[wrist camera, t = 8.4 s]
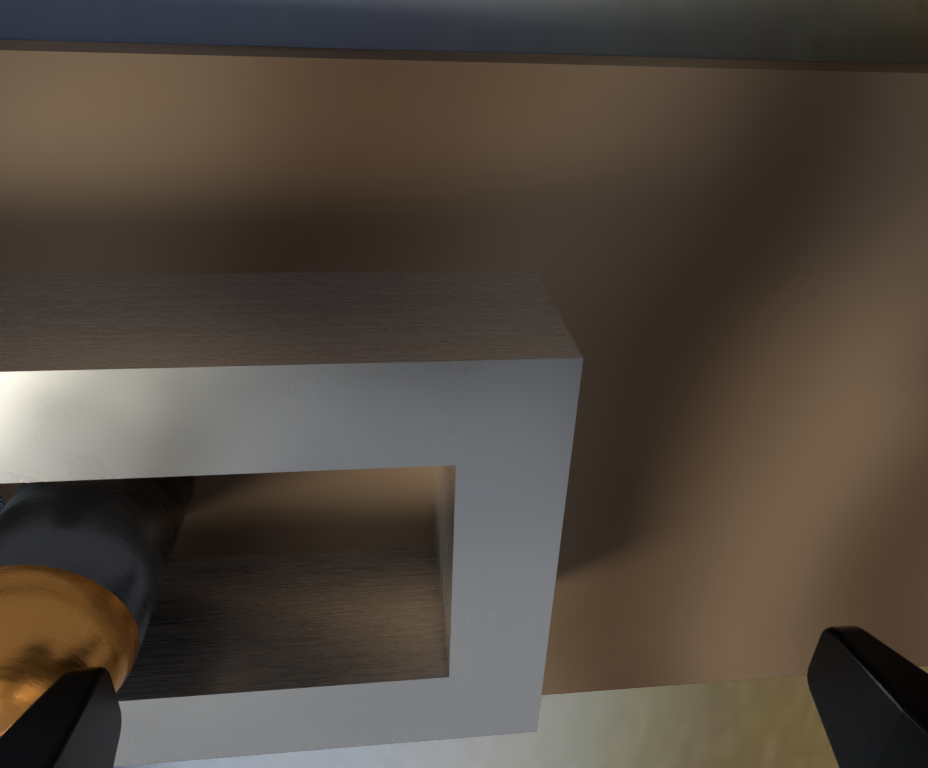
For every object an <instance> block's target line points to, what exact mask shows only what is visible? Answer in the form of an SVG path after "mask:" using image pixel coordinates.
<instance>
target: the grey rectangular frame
mask: <svg viewBox="0 0 928 768" xmlns="http://www.w3.org/2000/svg"><path fill="white" fill-rule="evenodd" d="M582 365H583V356H582V355H581V353H580V351H579V349H578V347H577V346H576V344H575V342H574V340H573V338H572V337H571V335H570V333H569V331H568V329H567V328H566V326H565V324H564V322H563V320H562V319H561V317H560V315H559V313H558V311H557V310H556V308H555V306H554V304H553V302H552V301H551V299H550V297H549V295H548V293H547V292H546V290H545V288H544V286H543V284H542V283H541V281H540V279H539V277H538V276H537V274H536V272H535V270H489V271H389V272H288V273H188V274H87V275H0V484H1V483H26V482H51V481H76V480H101V479H126V478H150V477H175V476H200V475H225V474H250V473H275V472H299V471H324V470H349V469H374V468H399V467H424V466H435V529H434V545H433V546H414V547H395V548H376V549H357V550H338V551H319V552H300V553H281V554H262V555H243V556H224V557H205V558H186V559H170V562H169V565H168V568H167V571H166V574H165V577H164V579H163V582H162V585H161V588H160V591H159V594H158V597H157V600H156V603H155V606H154V609H153V612H152V615H151V618H150V621H149V624H148V627H147V630H146V632H145V635H144V638H143V641H142V644H141V647H140V650H139V653H138V656H137V658H136V660H135V663H134V665H133V667H132V669H131V672H130V673H129V675H128V677H127V678H126V680H125V681H124V683H123V684H122V686H121V687H120V688H119V690H118V691H117V692H116V695H117V699H118V702H119V706H120V709H121V715H122V725H121V733H120V738H119V743H118V747H117V752H116V757H115V761H114V766H113V767H116V766H128V765H140V764H152V763H164V762H176V761H188V760H200V759H212V758H225V757H237V756H249V755H261V754H273V753H285V752H297V751H309V750H321V749H333V748H345V747H357V746H369V745H381V744H393V743H406V742H418V741H430V740H442V739H454V738H466V737H478V736H490V735H502V734H514V733H526V732H537V726H538V718H539V710H540V702H541V694H542V686H543V678H544V670H545V662H546V654H547V646H548V638H549V630H550V622H551V614H552V606H553V598H554V590H555V582H556V574H557V566H558V558H559V549H560V541H561V533H562V525H563V517H564V509H565V501H566V493H567V485H568V477H569V469H570V461H571V453H572V445H573V437H574V429H575V421H576V413H577V405H578V397H579V389H580V381H581V373H582Z"/></svg>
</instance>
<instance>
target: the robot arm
mask: <svg viewBox="0 0 928 768" xmlns="http://www.w3.org/2000/svg"><path fill="white" fill-rule="evenodd" d="M807 679H808V685H809V689H810V692H811V694H812V697H813V700H814V702H815V705H816V708H817V710H818V713H819V715H820V718H821V721H822V723H823V726H824V729H825V731H826V734H827V737H828V739H829V742H830V744H831V747H832V750H833V752H834V755H835V758H836V760H837V763H838V765H839V768H928V673H926V672H925V671H923V670H922V669H920V668H919V667H917V666H916V665H915V664H913V663H912V662H910V661H909V660H907V659H906V658H904V657H903V656H902V655H900V654H899V653H897V652H896V651H894V650H893V649H891V648H890V647H889V646H887V645H886V644H884V643H883V642H881V641H880V640H878V639H877V638H876V637H874V636H873V635H871V634H870V633H868V632H867V631H865V630H864V629H862V628H860V627H857V626H833V627H827V628H826V629H825V630H824V631H822V633H821V635H820V638H819V641H818V643H817V646H816V648H815V651H814V654H813V656H812V659H811V661H810V664H809V667H808V673H807ZM121 725H122V715H121V709H120V706H119V702H118V699H117V695H116V692H115V689H114V685H113V682H112V678H111V675H110V673H109V671H108V670H107V669H106V668H105V667H85V668H74V669H70V670H68V671H67V672H65V673H64V674H63V675H62V676H61V677H60V678H58V679H57V680H56V681H55V682H54V683H53V684H52V685H51V686H50V687H49V688H48V689H47V690H46V691H45V692H44V693H43V694H42V695H41V696H40V697H39V698H38V699H37V700H36V701H35V702H34V703H33V704H32V705H31V706H30V707H29V708H28V709H27V710H26V711H25V712H24V713H23V714H22V715H21V716H20V717H19V718H18V719H17V720H16V721H15V722H14V723H13V724H12V725H11V726H10V727H9V728H8V729H7V730H6V731H5V732H4V733H3V734H2V735H1V736H0V768H113V766H114V761H115V757H116V752H117V747H118V743H119V738H120V733H121Z"/></svg>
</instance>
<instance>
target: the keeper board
mask: <svg viewBox="0 0 928 768" xmlns="http://www.w3.org/2000/svg"><path fill="white" fill-rule="evenodd" d="M489 270H535V272H536V274H537V276H538V277H539V279H540V281H541V283H542V284H543V286H544V288H545V290H546V292H547V293H548V295H549V297H550V299H551V301H552V302H553V304H554V306H555V308H556V310H557V311H558V313H559V315H560V317H561V319H562V320H563V322H564V324H565V326H566V328H567V329H568V331H569V333H570V335H571V337H572V338H573V340H574V342H575V344H576V346H577V347H578V349H579V351H580V353H581V355H582V356H583V365H582V373H581V381H580V389H579V397H578V405H577V413H576V421H575V429H574V437H573V445H572V453H571V461H570V469H569V477H568V485H567V493H566V501H565V509H564V517H563V525H562V533H561V541H560V549H559V558H558V566H557V574H556V582H555V590H554V598H553V606H552V614H551V622H550V630H549V638H548V646H547V654H546V662H545V670H544V678H543V686H542V694H541V695H548V694H562V693H575V692H588V691H601V690H615V689H628V688H641V687H654V686H667V685H681V684H694V683H707V682H720V681H734V680H747V679H760V678H773V677H787V676H800V675H807V673H808V667H809V664H810V661H811V659H812V656H813V654H814V651H815V648H816V646H817V643H818V641H819V638H820V635H821V633H822V631H824V630H825V629H826V628H827V627H833V626H857V627H860V628H862V629H864V630H865V631H867V632H868V633H870V634H871V635H873V636H874V637H876V638H877V639H878V640H880V641H881V642H883V643H884V644H886V645H887V646H889V647H890V648H891V649H893V650H894V651H896V652H897V653H899V654H900V655H902V656H903V657H904V658H906V659H907V660H909V661H910V662H912V663H913V664H915V665H916V666H917V667H919V666H928V64H898V63H861V62H824V61H787V60H749V59H712V58H675V57H638V56H600V55H563V54H526V53H489V52H451V51H414V50H377V49H340V48H303V47H265V46H228V45H191V44H154V43H116V42H79V41H42V40H5V39H0V275H87V274H188V273H288V272H389V271H489ZM19 485H20V483H1V484H0V494H1V497H2V500H3V503H4V506H5V505H6V504H7V502H8V501H9V499H10V498H11V496H12V495H13V493H14V492H15V490H16V489H17V487H18V486H19ZM434 529H435V466H424V467H399V468H374V469H349V470H324V471H299V472H275V473H250V474H225V475H200V476H196V479H195V487H194V491H193V494H192V497H191V500H190V503H189V506H188V509H187V512H186V515H185V518H184V521H183V524H182V526H181V529H180V532H179V535H178V538H177V541H176V544H175V547H174V550H173V553H172V556H171V559H186V558H205V557H224V556H243V555H262V554H281V553H300V552H319V551H338V550H357V549H376V548H395V547H414V546H433V545H434Z"/></svg>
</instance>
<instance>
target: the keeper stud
mask: <svg viewBox="0 0 928 768" xmlns="http://www.w3.org/2000/svg"><path fill="white" fill-rule="evenodd" d="M195 479H196V476H175V477H150V478H126V479H101V480H76V481H51V482H26V483H20V485H19V486H18V487H17V489H16V490H15V492H14V493H13V495H12V496H11V498H10V499H9V501H8V502H7V504H6V505H5V506H4V508H3V509H2V511H1V512H0V736H1V735H2V734H3V733H4V732H5V731H6V730H7V729H8V728H9V727H10V726H11V725H12V724H13V723H14V722H15V721H16V720H17V719H18V718H19V717H20V716H21V715H22V714H23V713H24V712H25V711H26V710H27V709H28V708H29V707H30V706H31V705H32V704H33V703H34V702H35V701H36V700H37V699H38V698H39V697H40V696H41V695H42V694H43V693H44V692H45V691H46V690H47V689H48V688H49V687H50V686H51V685H52V684H53V683H54V682H55V681H56V680H57V679H58V678H60V677H61V676H62V675H63V674H64V673H65V672H67V671H68V670H70V669H74V668H85V667H105V668H106V669H107V670H108V671H109V673H110V675H111V678H112V682H113V685H114V689H115V692H117V691H118V690H119V688H120V687H121V686H122V684H123V683H124V681H125V680H126V678H127V677H128V675H129V673H130V672H131V669H132V667H133V665H134V663H135V660H136V658H137V656H138V653H139V650H140V647H141V644H142V641H143V638H144V635H145V632H146V630H147V627H148V624H149V621H150V618H151V615H152V612H153V609H154V606H155V603H156V600H157V597H158V594H159V591H160V588H161V585H162V582H163V579H164V577H165V574H166V571H167V568H168V565H169V562H170V559H171V556H172V553H173V550H174V547H175V544H176V541H177V538H178V535H179V532H180V529H181V526H182V524H183V521H184V518H185V515H186V512H187V509H188V506H189V503H190V500H191V497H192V494H193V491H194V487H195Z"/></svg>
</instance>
